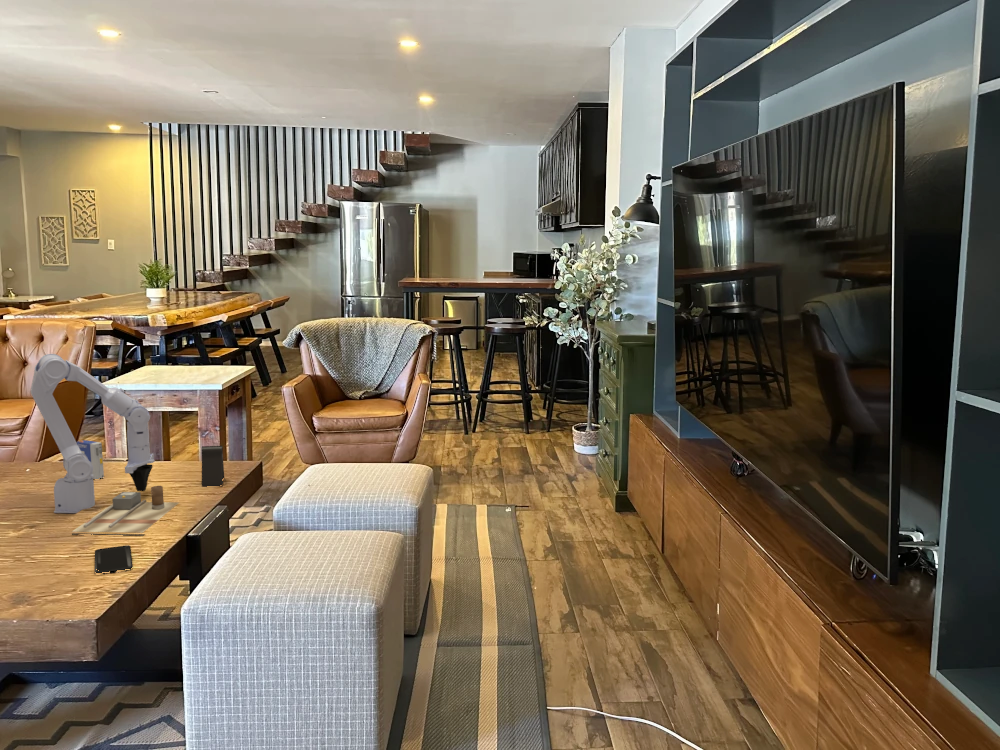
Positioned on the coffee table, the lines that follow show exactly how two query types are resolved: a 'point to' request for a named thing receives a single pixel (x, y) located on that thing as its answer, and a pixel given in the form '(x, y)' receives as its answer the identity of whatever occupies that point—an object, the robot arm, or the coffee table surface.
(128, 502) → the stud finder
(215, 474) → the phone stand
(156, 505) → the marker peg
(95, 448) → the walkman
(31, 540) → the coffee table surface
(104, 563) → the phone
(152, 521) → the cream ridged tray
